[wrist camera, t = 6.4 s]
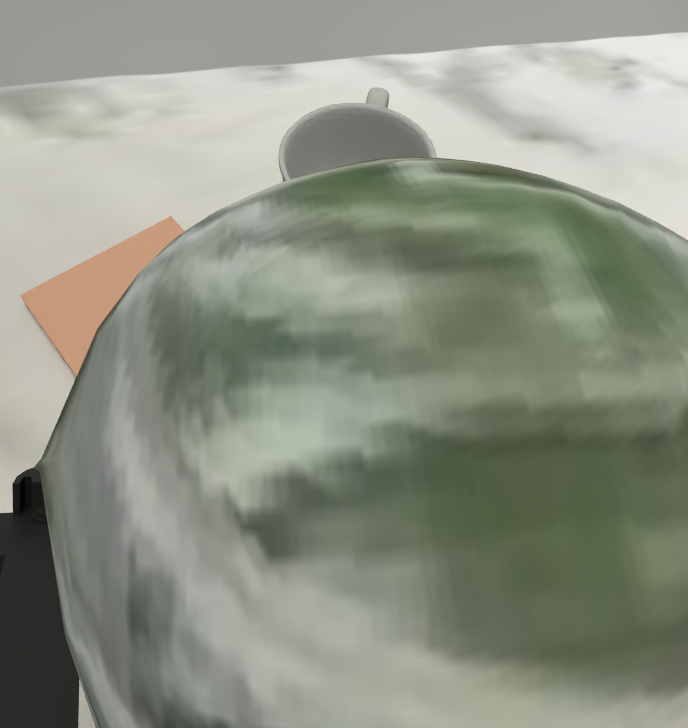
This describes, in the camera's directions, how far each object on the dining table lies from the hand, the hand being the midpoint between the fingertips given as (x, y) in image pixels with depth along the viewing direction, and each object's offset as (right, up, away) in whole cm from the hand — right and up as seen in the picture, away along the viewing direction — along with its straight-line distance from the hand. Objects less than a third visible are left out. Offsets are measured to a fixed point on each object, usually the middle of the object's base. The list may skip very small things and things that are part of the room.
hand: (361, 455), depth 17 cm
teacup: (0, +15, +24) cm, 28 cm away
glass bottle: (-2, -9, +12) cm, 15 cm away
